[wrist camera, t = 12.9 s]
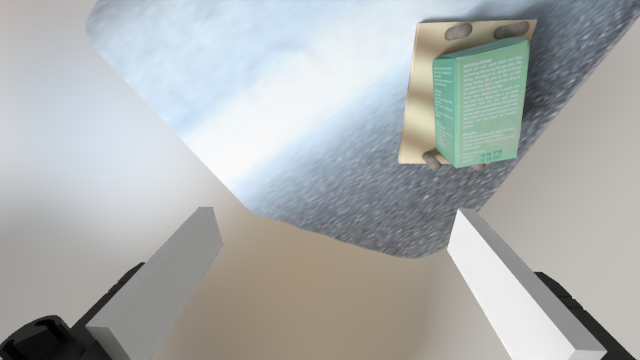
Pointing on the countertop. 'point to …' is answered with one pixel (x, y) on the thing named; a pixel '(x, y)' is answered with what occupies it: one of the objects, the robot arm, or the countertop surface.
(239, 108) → the countertop surface
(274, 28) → the countertop surface
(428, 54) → the tray
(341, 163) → the countertop surface
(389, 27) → the countertop surface
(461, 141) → the box
